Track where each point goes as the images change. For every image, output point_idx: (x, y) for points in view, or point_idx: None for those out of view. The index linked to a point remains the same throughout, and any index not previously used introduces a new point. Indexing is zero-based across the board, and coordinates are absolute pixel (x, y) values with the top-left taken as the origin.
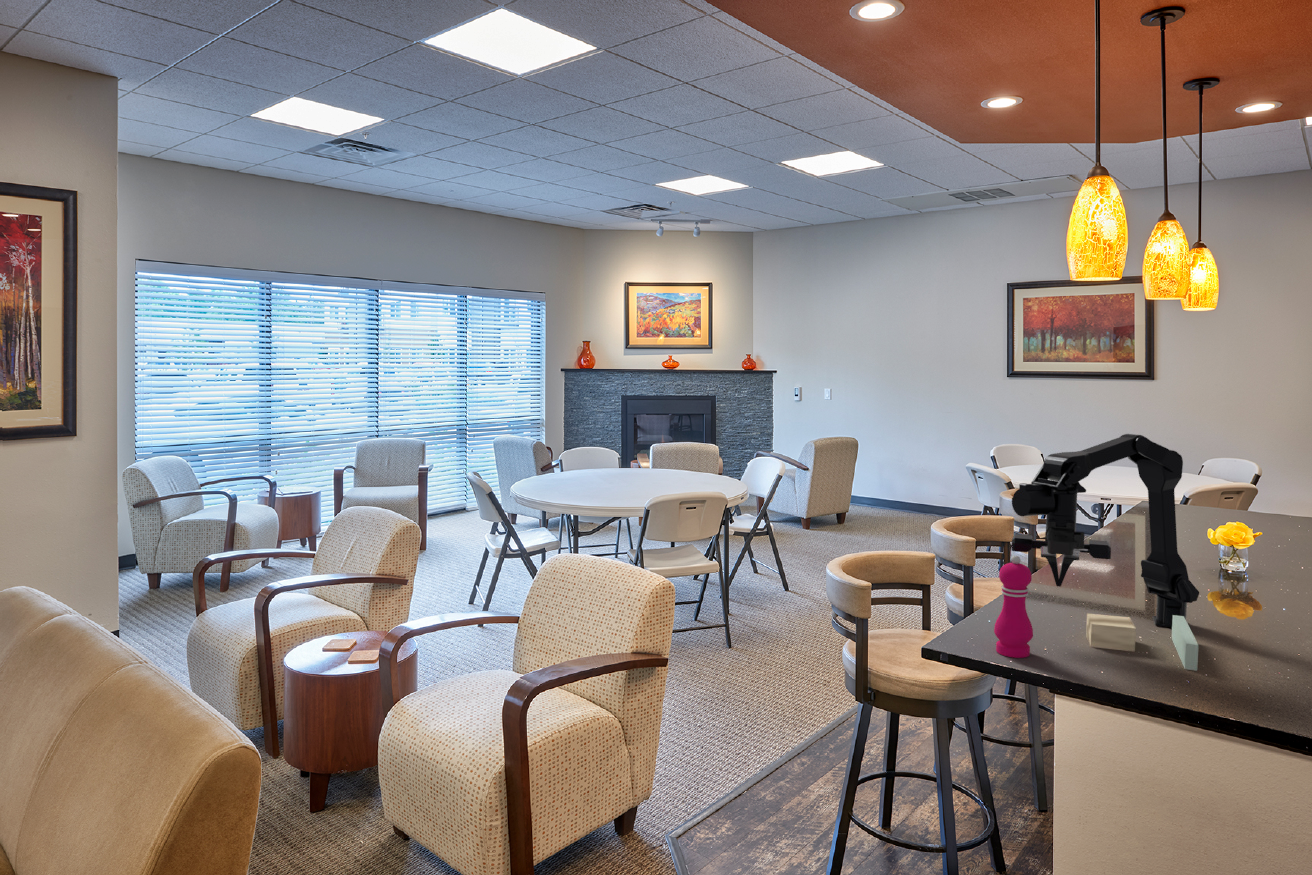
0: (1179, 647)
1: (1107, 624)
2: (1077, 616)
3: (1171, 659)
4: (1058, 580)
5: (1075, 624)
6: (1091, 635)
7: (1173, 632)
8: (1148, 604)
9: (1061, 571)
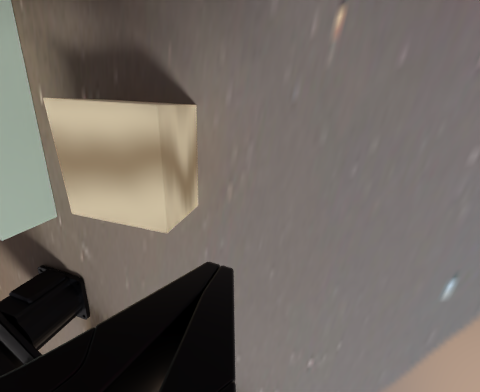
0: (10, 98)
1: (113, 118)
2: None
3: (39, 60)
4: (206, 290)
5: None
6: (178, 105)
7: (33, 202)
8: None
9: (129, 351)
